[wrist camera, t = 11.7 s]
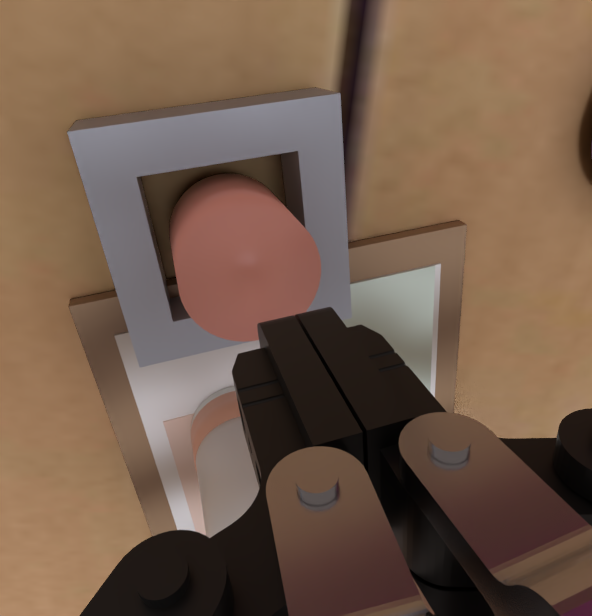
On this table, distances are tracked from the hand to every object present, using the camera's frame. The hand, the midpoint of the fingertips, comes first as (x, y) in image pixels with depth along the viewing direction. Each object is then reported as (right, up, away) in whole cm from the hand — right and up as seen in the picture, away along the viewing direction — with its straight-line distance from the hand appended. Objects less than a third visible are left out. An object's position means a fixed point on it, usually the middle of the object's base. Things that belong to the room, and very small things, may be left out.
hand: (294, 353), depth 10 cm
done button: (-2, +3, +7) cm, 8 cm away
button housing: (-3, +4, +8) cm, 10 cm away
